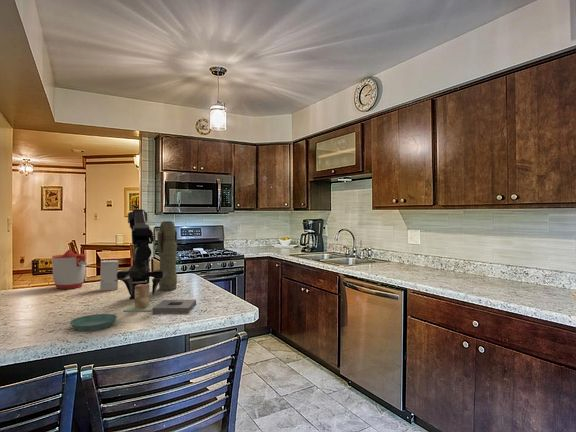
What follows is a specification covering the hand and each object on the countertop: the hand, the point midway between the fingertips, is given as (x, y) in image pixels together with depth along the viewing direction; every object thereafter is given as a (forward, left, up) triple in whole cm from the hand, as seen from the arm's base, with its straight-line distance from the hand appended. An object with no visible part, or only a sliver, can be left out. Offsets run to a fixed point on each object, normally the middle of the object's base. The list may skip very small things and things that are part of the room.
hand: (142, 294), depth 156 cm
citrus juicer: (-54, +45, -6) cm, 70 cm away
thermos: (-1, +39, -6) cm, 39 cm away
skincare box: (-31, +39, -6) cm, 50 cm away
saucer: (-8, -24, -6) cm, 26 cm away
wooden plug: (0, 0, -5) cm, 5 cm away
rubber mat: (0, 0, -6) cm, 6 cm away
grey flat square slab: (+14, -1, -6) cm, 15 cm away
